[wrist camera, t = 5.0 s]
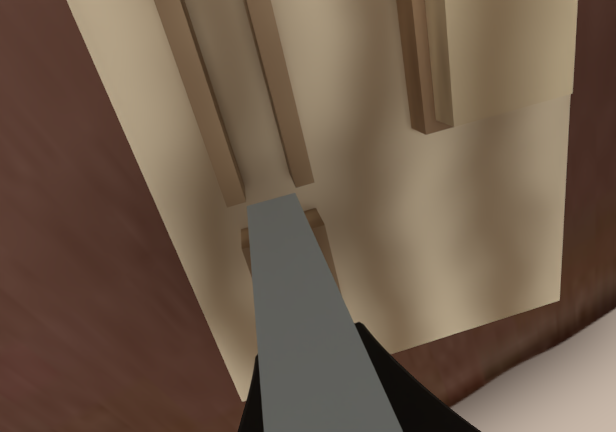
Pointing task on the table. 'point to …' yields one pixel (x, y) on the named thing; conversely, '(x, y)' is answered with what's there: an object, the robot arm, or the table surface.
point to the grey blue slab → (307, 333)
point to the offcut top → (499, 55)
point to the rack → (329, 164)
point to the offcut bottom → (418, 66)
